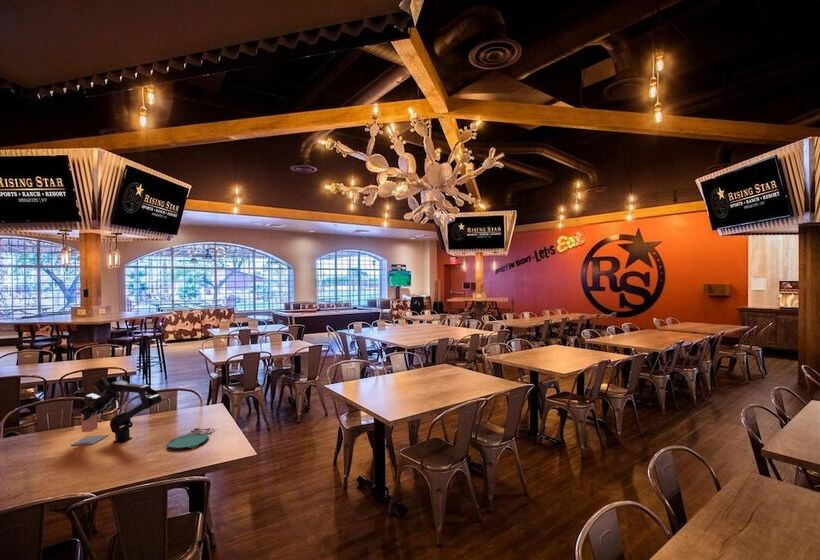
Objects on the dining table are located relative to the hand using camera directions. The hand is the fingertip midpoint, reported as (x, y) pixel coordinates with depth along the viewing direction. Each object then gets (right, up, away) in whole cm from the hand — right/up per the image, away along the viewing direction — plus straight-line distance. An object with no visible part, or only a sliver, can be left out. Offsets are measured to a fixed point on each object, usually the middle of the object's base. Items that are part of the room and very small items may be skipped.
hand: (86, 418), depth 224 cm
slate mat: (+2, -13, 0) cm, 13 cm away
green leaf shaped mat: (+62, -12, -1) cm, 63 cm away
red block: (+2, -7, 0) cm, 7 cm away
